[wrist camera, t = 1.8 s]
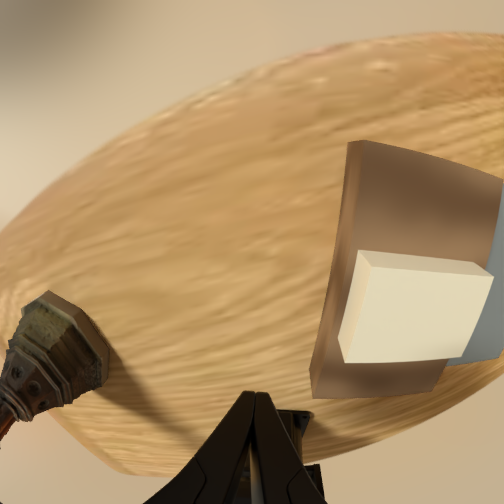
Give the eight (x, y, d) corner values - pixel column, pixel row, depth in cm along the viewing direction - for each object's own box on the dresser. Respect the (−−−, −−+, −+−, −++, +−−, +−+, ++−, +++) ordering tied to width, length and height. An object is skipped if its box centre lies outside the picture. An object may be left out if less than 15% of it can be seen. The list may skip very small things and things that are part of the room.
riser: (418, 367, 22) (431, 391, 19) (309, 369, 22) (312, 398, 19) (475, 173, 16) (503, 179, 13) (347, 142, 16) (364, 139, 13)
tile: (446, 336, 17) (461, 356, 14) (337, 338, 17) (344, 363, 15) (473, 262, 15) (493, 276, 12) (358, 249, 15) (371, 266, 13)
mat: (497, 356, 21) (498, 357, 21) (420, 366, 22) (421, 368, 22) (548, 203, 15) (549, 203, 15) (477, 174, 16) (480, 174, 16)
